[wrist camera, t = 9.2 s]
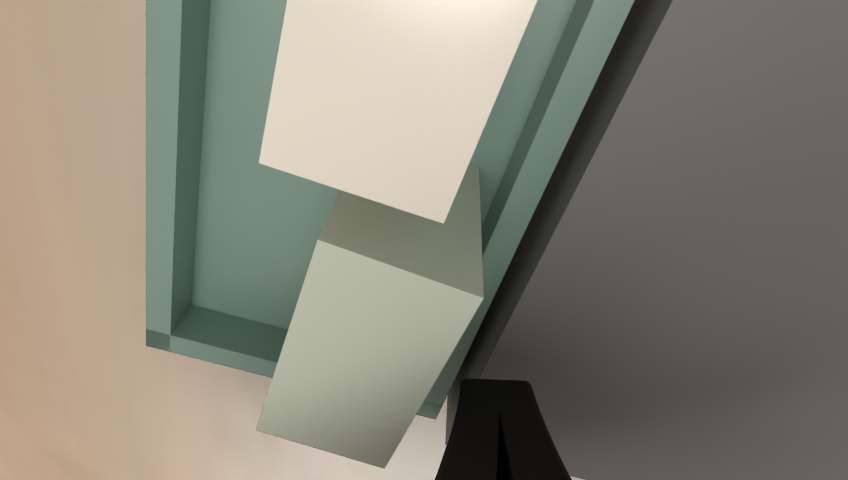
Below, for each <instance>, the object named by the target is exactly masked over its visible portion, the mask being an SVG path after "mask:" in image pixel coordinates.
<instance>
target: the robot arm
mask: <svg viewBox="0 0 848 480" xmlns="http://www.w3.org/2000/svg"><path fill="white" fill-rule="evenodd" d="M435 480H571V478H570V476H569V474H568V472H567V470H566V468H565V466H564V464H563V462H562V460H561V458H560V456H559V453H558V451H557V449H556V447H555V445H554V443H553V440H552V438H551V436H550V433H549V431H548V429H547V427H546V424H545V422H544V419H543V417H542V414H541V412H540V409H539V406H538V404H537V401H536V398H535V395H534V392H533V389H532V385H531V384H530V383H529V382H528V381H522V380H496V379H470V378H466V379H464V380H463V381H461V382H460V394H459V400H458V406H457V410H456V415H455V419H454V423H453V426H452V430H451V434H450V437H449V440H448V443H447V446H446V449H445V452H444V455H443V458H442V461H441V464H440V467H439V470H438V473H437V475H436V478H435Z"/></svg>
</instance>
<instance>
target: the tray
mask: <svg viewBox="0 0 848 480" xmlns="http://www.w3.org/2000/svg"><path fill="white" fill-rule="evenodd" d="M634 1H635V0H537V3H536V5H535V7H534V10H533V12H532V15H531V17H530V19H529V22H528V24H527V26H526V29H525V31H524V34H523V36H522V38H521V41H520V43H519V46H518V48H517V50H516V53H515V55H514V57H513V60H512V62H511V65H510V67H509V69H508V72H507V74H506V76H505V79H504V81H503V84H502V86H501V88H500V91H499V93H498V96H497V98H496V100H495V103H494V105H493V107H492V110H491V112H490V115H489V117H488V119H487V122H486V124H485V127H484V129H483V131H482V134H481V136H480V138H479V141H478V143H477V146H476V148H475V150H474V153H473V155H472V158H471V160H470V162H469V164H472V165H474V166H477V167H479V184H480V211H481V238H482V265H483V293H484V299H483V300H482V302H481V304H480V306H479V307H478V309H477V311H476V312H475V314H474V316H473V318H472V319H471V321H470V323H469V324H468V326H467V328H466V330H465V331H464V333H463V335H462V336H461V338H460V340H459V342H458V343H457V345H456V347H455V348H454V350H453V352H452V354H451V355H450V357H449V359H448V360H447V362H446V364H445V366H444V367H443V369H442V371H441V372H440V374H439V376H438V378H437V379H436V381H435V383H434V384H433V386H432V388H431V390H430V391H429V393H428V395H427V396H426V398H425V400H424V402H423V403H422V405H421V407H420V408H419V410H418V412H417V414H416V415H420V416H424V417H428V418H432V419H436V418H437V416H438V414H439V412H440V409H441V407H442V405H443V403H444V401H445V399H446V397H447V395H448V393H449V390H450V388H451V386H452V384H453V382H454V380H455V378H456V376H457V374H458V371H459V369H460V367H461V365H462V363H463V361H464V359H465V357H466V355H467V353H468V350H469V348H470V346H471V344H472V342H473V340H474V338H475V336H476V334H477V331H478V329H479V327H480V325H481V323H482V321H483V319H484V317H485V315H486V312H487V310H488V308H489V306H490V304H491V302H492V300H493V298H494V296H495V294H496V291H497V289H498V287H499V285H500V283H501V281H502V279H503V277H504V275H505V272H506V270H507V268H508V266H509V264H510V262H511V260H512V258H513V256H514V253H515V251H516V249H517V247H518V245H519V243H520V241H521V239H522V237H523V235H524V232H525V230H526V228H527V226H528V224H529V222H530V220H531V218H532V216H533V213H534V211H535V209H536V207H537V205H538V203H539V201H540V199H541V197H542V195H543V192H544V190H545V188H546V186H547V184H548V182H549V180H550V178H551V176H552V173H553V171H554V169H555V167H556V165H557V163H558V161H559V159H560V157H561V154H562V152H563V150H564V148H565V146H566V144H567V142H568V140H569V138H570V136H571V133H572V131H573V129H574V127H575V125H576V123H577V121H578V119H579V117H580V114H581V112H582V110H583V108H584V106H585V104H586V102H587V100H588V98H589V95H590V93H591V91H592V89H593V87H594V85H595V83H596V81H597V79H598V77H599V74H600V72H601V70H602V68H603V66H604V64H605V62H606V60H607V58H608V55H609V53H610V51H611V49H612V47H613V45H614V43H615V41H616V39H617V36H618V34H619V32H620V30H621V28H622V26H623V24H624V22H625V20H626V18H627V15H628V13H629V11H630V9H631V7H632V5H633V3H634ZM286 4H287V0H146V346H149V347H153V348H157V349H161V350H165V351H169V352H173V353H177V354H181V355H184V356H188V357H192V358H196V359H200V360H204V361H208V362H212V363H216V364H220V365H224V366H228V367H232V368H236V369H240V370H243V371H247V372H251V373H255V374H259V375H263V376H267V377H271V378H273V375H274V372H275V369H276V366H277V363H278V360H279V357H280V354H281V351H282V347H283V344H284V341H285V338H286V335H287V332H288V329H289V326H290V323H291V320H292V317H293V314H294V311H295V308H296V305H297V302H298V298H299V295H300V292H301V289H302V286H303V283H304V280H305V277H306V274H307V271H308V268H309V265H310V262H311V259H312V256H313V252H314V249H315V246H316V243H317V240H318V238H319V236H320V233H321V231H322V229H323V227H324V225H325V222H326V220H327V218H328V216H329V213H330V211H331V209H332V207H333V205H334V202H335V200H336V198H337V196H338V193H339V191H340V190H339V189H336V188H333V187H330V186H327V185H324V184H321V183H318V182H315V181H312V180H309V179H306V178H303V177H300V176H296V175H293V174H290V173H287V172H284V171H281V170H278V169H275V168H272V167H269V166H266V165H263V164H260V163H259V158H260V152H261V147H262V141H263V135H264V130H265V124H266V118H267V112H268V107H269V101H270V95H271V90H272V84H273V78H274V72H275V67H276V61H277V55H278V50H279V44H280V38H281V32H282V27H283V21H284V15H285V10H286Z"/></svg>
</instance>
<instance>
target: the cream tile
mask: <svg viewBox="0 0 848 480" xmlns="http://www.w3.org/2000/svg"><path fill="white" fill-rule="evenodd" d="M536 3H537V0H287V4H286V10H285V15H284V21H283V27H282V32H281V38H280V44H279V50H278V55H277V61H276V67H275V72H274V78H273V84H272V90H271V95H270V101H269V107H268V112H267V118H266V124H265V130H264V135H263V141H262V147H261V152H260V158H259V163H260V164H263V165H266V166H269V167H272V168H275V169H278V170H281V171H284V172H287V173H290V174H293V175H296V176H300V177H303V178H306V179H309V180H312V181H315V182H318V183H321V184H324V185H327V186H330V187H333V188H336V189H339V190H342V191H345V192H348V193H351V194H354V195H358V196H361V197H364V198H367V199H370V200H373V201H376V202H379V203H382V204H385V205H388V206H391V207H394V208H397V209H400V210H403V211H406V212H409V213H412V214H415V215H419V216H422V217H425V218H428V219H431V220H434V221H437V222H440V223H443V224H444V222H445V219H446V217H447V215H448V212H449V210H450V208H451V205H452V203H453V200H454V198H455V196H456V193H457V191H458V188H459V186H460V184H461V181H462V179H463V177H464V174H465V172H466V169H467V167H468V165H469V162H470V160H471V158H472V155H473V153H474V150H475V148H476V146H477V143H478V141H479V138H480V136H481V134H482V131H483V129H484V127H485V124H486V122H487V119H488V117H489V115H490V112H491V110H492V107H493V105H494V103H495V100H496V98H497V96H498V93H499V91H500V88H501V86H502V84H503V81H504V79H505V76H506V74H507V72H508V69H509V67H510V65H511V62H512V60H513V57H514V55H515V53H516V50H517V48H518V46H519V43H520V41H521V38H522V36H523V34H524V31H525V29H526V26H527V24H528V22H529V19H530V17H531V15H532V12H533V10H534V7H535V5H536Z"/></svg>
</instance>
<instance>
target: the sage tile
mask: <svg viewBox="0 0 848 480" xmlns="http://www.w3.org/2000/svg"><path fill="white" fill-rule="evenodd" d="M483 299H484V293H483V265H482V238H481V211H480V184H479V167H477V166H474V165H472V164H469V165H468V167H467V169H466V172H465V174H464V177H463V179H462V181H461V184H460V186H459V188H458V191H457V193H456V196H455V198H454V200H453V203H452V205H451V208H450V210H449V212H448V215H447V217H446V219H445V222H444V224H443V223H440V222H437V221H434V220H431V219H428V218H425V217H422V216H419V215H415V214H412V213H409V212H406V211H403V210H400V209H397V208H394V207H391V206H388V205H385V204H382V203H379V202H376V201H373V200H370V199H367V198H364V197H361V196H358V195H354V194H351V193H348V192H345V191H342V190H340V191H339V193H338V196H337V198H336V200H335V202H334V205H333V207H332V209H331V211H330V213H329V216H328V218H327V220H326V222H325V225H324V227H323V229H322V231H321V233H320V236H319V238H318V240H317V243H316V246H315V249H314V252H313V256H312V259H311V262H310V265H309V268H308V271H307V274H306V277H305V280H304V283H303V286H302V289H301V292H300V295H299V298H298V302H297V305H296V308H295V311H294V314H293V317H292V320H291V323H290V326H289V329H288V332H287V335H286V338H285V341H284V344H283V347H282V351H281V354H280V357H279V360H278V363H277V366H276V369H275V372H274V375H273V378H272V381H271V384H270V387H269V390H268V393H267V397H266V400H265V403H264V406H263V409H262V412H261V415H260V418H259V421H258V424H257V427H256V431H260V432H263V433H266V434H270V435H273V436H276V437H280V438H283V439H287V440H290V441H293V442H297V443H300V444H303V445H307V446H310V447H313V448H317V449H320V450H324V451H327V452H330V453H334V454H337V455H340V456H344V457H347V458H350V459H354V460H357V461H361V462H364V463H367V464H371V465H374V466H377V467H381V468H385V467H386V465H387V463H388V462H389V460H390V458H391V456H392V455H393V453H394V451H395V450H396V448H397V446H398V444H399V443H400V441H401V439H402V438H403V436H404V434H405V432H406V431H407V429H408V427H409V426H410V424H411V422H412V420H413V419H414V417H415V415H416V414H417V412H418V410H419V408H420V407H421V405H422V403H423V402H424V400H425V398H426V396H427V395H428V393H429V391H430V390H431V388H432V386H433V384H434V383H435V381H436V379H437V378H438V376H439V374H440V372H441V371H442V369H443V367H444V366H445V364H446V362H447V360H448V359H449V357H450V355H451V354H452V352H453V350H454V348H455V347H456V345H457V343H458V342H459V340H460V338H461V336H462V335H463V333H464V331H465V330H466V328H467V326H468V324H469V323H470V321H471V319H472V318H473V316H474V314H475V312H476V311H477V309H478V307H479V306H480V304H481V302H482V300H483Z"/></svg>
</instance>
